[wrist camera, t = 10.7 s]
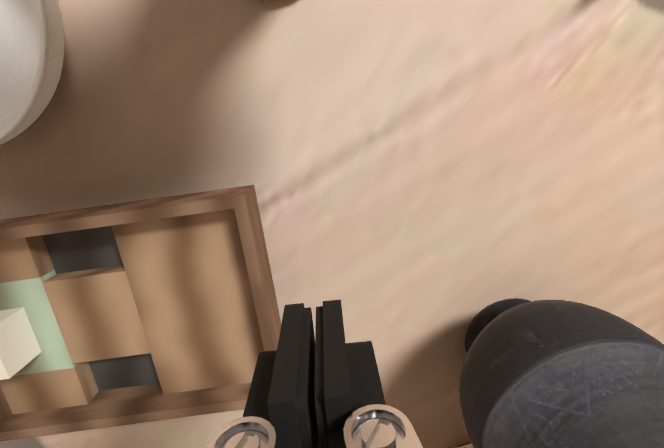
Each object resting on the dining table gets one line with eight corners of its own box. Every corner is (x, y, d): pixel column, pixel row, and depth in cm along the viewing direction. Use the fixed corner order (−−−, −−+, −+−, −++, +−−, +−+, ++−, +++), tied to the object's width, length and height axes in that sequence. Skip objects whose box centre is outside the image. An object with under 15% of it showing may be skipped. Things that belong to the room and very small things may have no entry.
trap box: (254, 185, 36) (243, 195, 31) (290, 370, 42) (286, 403, 37) (-53, 227, 36) (-110, 244, 32) (25, 405, 42) (-14, 443, 37)
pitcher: (400, 322, 41) (595, 827, 12) (572, 210, 38) (1399, 513, 9) (481, 426, 45) (774, 991, 16) (642, 331, 42) (1364, 812, 13)
